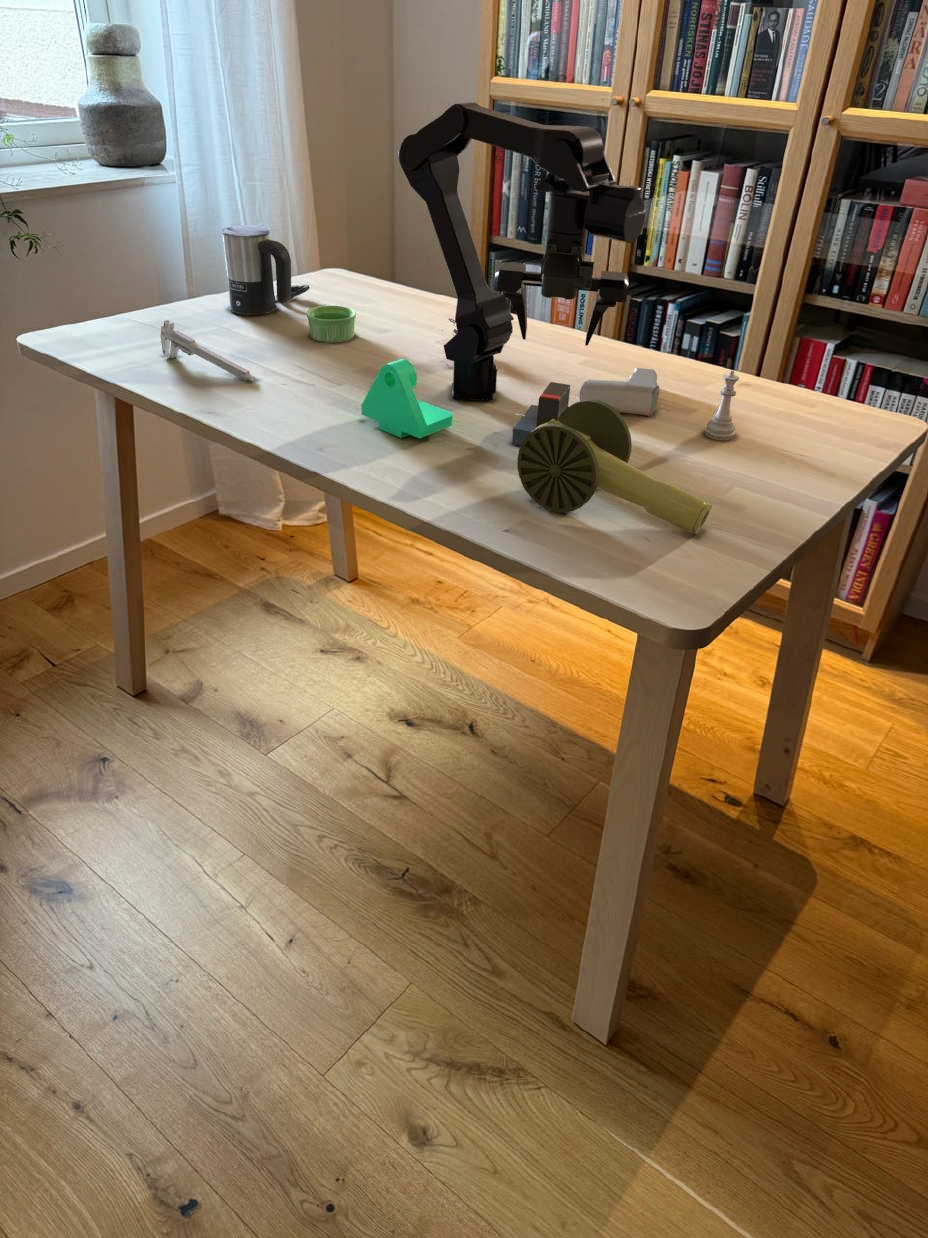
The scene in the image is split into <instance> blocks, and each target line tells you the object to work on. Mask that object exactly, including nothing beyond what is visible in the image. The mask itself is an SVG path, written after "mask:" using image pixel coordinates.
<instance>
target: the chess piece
mask: <svg viewBox="0 0 928 1238" xmlns="http://www.w3.org/2000/svg"><path fill="white" fill-rule="evenodd" d="M722 379H723V382H724V386H723V387H722V388H720V390H719V395H721V396H722V398H721V401H720V404H719V407H718V409H717V412H716V413H714V414H713V416H712V418H711V419H709V420H708V421H707V422H706V425H705V426H706V427H705V428H704V434H705V436H706V437H708V438H710V439H713V440H715V441H730V440H732V439H734V437H735V434H736V433H735V431H736V425H735V423H734V422H733V416H732V415H731V402H732V401H731V400H732V398H733V397H735V396H736V395H737V391H736V390H735V387H734V386H735V384H736V383H737V382H738V381H739V380H740V376H739V375H737V374H735V370H729V373H724V374H723V375H722Z"/></svg>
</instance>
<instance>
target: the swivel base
mask: <svg viewBox="0 0 928 1238" xmlns="http://www.w3.org/2000/svg"><path fill="white" fill-rule="evenodd" d="M537 413H538V404H537V405H536V404H531V405H530V406H529V407H528V408H527V410H526V411H525V412H524V414H522V413H515V414H514V416H516V417H520V419H519V420H518V421H517V423H516V424H515V425H514V427H513V428H512V439H511V440H512V441H511V445H514V446H519V447H521V444H522V442H523V441H524V439H525V438H526V437H527V436H528V435H529V434H530V433H531V432H532V431H533V430H534V429H536V428H537V427H536V425H537Z"/></svg>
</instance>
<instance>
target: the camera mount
mask: <svg viewBox="0 0 928 1238" xmlns="http://www.w3.org/2000/svg"><path fill="white" fill-rule="evenodd" d="M417 382H418V375H417V370H416V369H415V366H414V365H413V363H412V362H410V360H408V359H407V358H406V359H405V358H401V359H398V360H394V361H392V362H388V363H385V364H383V365H381V367H380V368H379V370H378V372H377V374H376V376H375V378H374V379H373V382H372V384H371V385H370V388H369V389H368V392H367V393H366V395H365V398H364V399H363V401H362V403H361V405H360V406H361V407H360V409H361V415H362V416H364V417H367V418H369V419H371V420H374V421H376V422H378V430H381V431H384V432H386V433H388V434H391V435H393V436H396V437H398V438H400V439H403V438H405V437H408V436H412V437H415V438H417V439H423V438H424V437H427V436H429V435H432V434H434V433H436V432H440V431H442V430H445V429H447V428H449V427H452V426H453V422H454V421H453V419H454V418H453V417H454V414H453V413H452V412H451V411H448V410H446V409H443V408H440V407H438V406H435V405H432V404H431V403H427V402H424V401H422V400H420V399H418V398H417V396H416V393H415V390H414V388H415V386H416V385H417Z"/></svg>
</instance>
